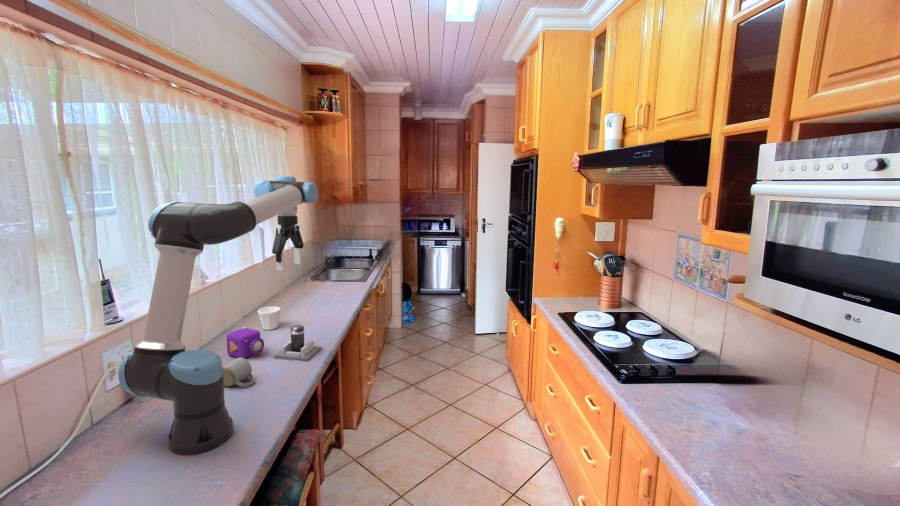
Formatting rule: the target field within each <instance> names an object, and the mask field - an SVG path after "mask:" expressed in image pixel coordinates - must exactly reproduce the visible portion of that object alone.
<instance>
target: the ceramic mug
mask: <svg viewBox="0 0 900 506" xmlns="http://www.w3.org/2000/svg"><path fill="white" fill-rule="evenodd" d="M222 367H223V380H224V387H229V388H230V387H233V386H235V385H237V386H239V387H242V388H246V387H247V388H248V387H250V386H252V385H253V383H254V381H255V376H254V375H253V374H252V371H253V368H252V365H251V363H250V362H249V361H248V360H247V359H246V358H237V357H236V358H235V359H233V360H232V361H230V362H228V363H227V364H226V365H225V366H222ZM247 378H250V379H251V381H250V382H246V383H244V382H242V381H244V380H246V379H247Z"/></svg>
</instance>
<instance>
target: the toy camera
mask: <svg viewBox="0 0 900 506" xmlns="http://www.w3.org/2000/svg"><path fill="white" fill-rule="evenodd" d="M264 347H265V341H264V339H263V338H262V337H261V332H260V331H259V330H256V329H252V328H248V327H247V326H243V327H241V328H239V329H237V330H235V331H231V332H229V333H227V334H226V352H227V355H229V356H230V357H233V358H236V359H237V358H244V359H246V358H249V357H251V356H253V355H259V354H260V353H261V352H262V351H263V349H264Z"/></svg>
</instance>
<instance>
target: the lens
mask: <svg viewBox="0 0 900 506" xmlns="http://www.w3.org/2000/svg"><path fill="white" fill-rule="evenodd" d="M290 340H291V352H301V348H302V347H304V344H305V326H304V325H301V324H295V325H293V326H290Z"/></svg>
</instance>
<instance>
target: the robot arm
mask: <svg viewBox="0 0 900 506" xmlns="http://www.w3.org/2000/svg"><path fill="white" fill-rule="evenodd" d="M253 194H254V196H255V197H254V198H252V199H250V200H247V201H233V202H231V203H224V204H222V203H219V204H218V203H201V202H199V203H198V202H185V201H173V202H165V203H162V204H160V205H159V206H157V207H156V208H154V210H153V211H152V212H151V214H150V216H149V218H148V222H147V223H148V226H147V229H148V231H149V232H150V235H151V237H152V238H154V239H155V241H154V247H155V249H157V250H158V252H159V257H158V261H157V266H156V271H155V275H154V276H155V277H154V280H153V287H152V291H151V297H150V301H149V305H148V306H149V308H148V313H147V318H146V321H145V328H144V333H143V338H142V339H141V340H140V341H138V342H137V343H136V344H135V345H134V348H133V349H134V350H133V351H132V352H130V353H128V355H126V357H125V359H123V360H121V363H120V365H119V368H118V372H117V373H118V374H117V375H118V382H119V385H120V386H121V388H123V390H125V391H126V392H127V393H129V394H133V395H136V396H138V397H142V398H145V397H148V398H152V399H153V398H154V399H158V400H164V401H169V402H172V404H173V405H172V407H173V413H174V414H173V415H174V416H173V417H174V418H173V421H172V424H171V427H170V431H169V434H168V437H167V438H168V448H169V450H170V451H171V452H173V453H174V454H178V455H183V456H184V455H187V456H188V455H197V454H201V453H205V452H207V451H210V450H213V449H215V448H217V447H219V446H221V445H223V444H224V443H225V442H227V441H228V440H229V439H230V438H231V437H232V435H233V433H234V431H235V430H234V421H233V419H232V417H231V416H230V414H229V412H228V409H227V406H226V405H225V401H226V400H225V385H224V380H223V367H224V366H223V363H222V359H221V357H220V355H219V354H217V353H216V352H214V351H212V350H207V349H197V350H196V349H190V350H186V348H187V347H186V345H185V344H184V343H183V342H182V339H181V338H182V334H183V328H184V323H185V317H186V312H187V307H188V300H189V295H190V289H191V285H192V279H193V274H194V268H195V263H196V258H197V257H198V256H200V255H201V254H202V253H204V246H207V245H208V246H209V245H219V244H223V243H225V242H229V241H232V240H234V239H237V238H239V237H242V236H244V235H246V234H248V233H250V232H252V231H253V230H255V228H256V226H257V225H259V224H261V223H263V222H265V221H268V220H269V219H272V218H273V217H275V216H277V225H279V226H280V227H279V228H275V236H274V240H273V245H272V250H271V253H272V254H274V255H275V261H276V262H275V264H276V271H284V270H285V259H284V253H283V251H284V249H285V247H286V244H287V241H288V240H289V239H290V241H291V242H292V245H293V247H294V248H293V260H294V261H293V263H294V264H297V265H298V264H299V265H300V264H302V251H301V249H304V241H303V238H302V234H301V232H300V225H298V224H299V223H298V222H299V221H298V219H299V218H298V215H297V214H298V209H299V208H298V206H299V205H302V204H304V203H305V204H306V203H307V204H311V203H315V202H316V201H317V200H318V198H319V188H318V186H317V184H316V183H314V182H310V181H297V179H296V177H295V176H294V175H293V176H291V175H290V176H289V175H277V176H276V177H275V180H260V181H257V182H256V183H255V184H254V186H253Z"/></svg>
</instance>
